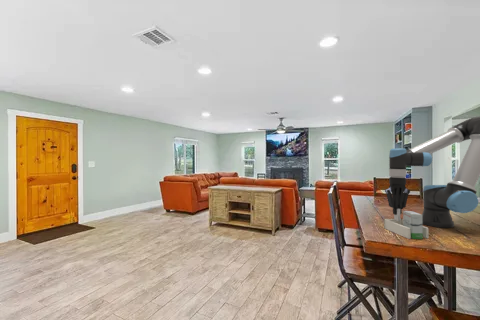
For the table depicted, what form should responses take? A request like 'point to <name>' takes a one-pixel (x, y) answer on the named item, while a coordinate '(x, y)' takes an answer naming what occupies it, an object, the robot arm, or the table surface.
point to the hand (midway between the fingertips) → (397, 220)
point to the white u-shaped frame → (401, 228)
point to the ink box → (413, 224)
